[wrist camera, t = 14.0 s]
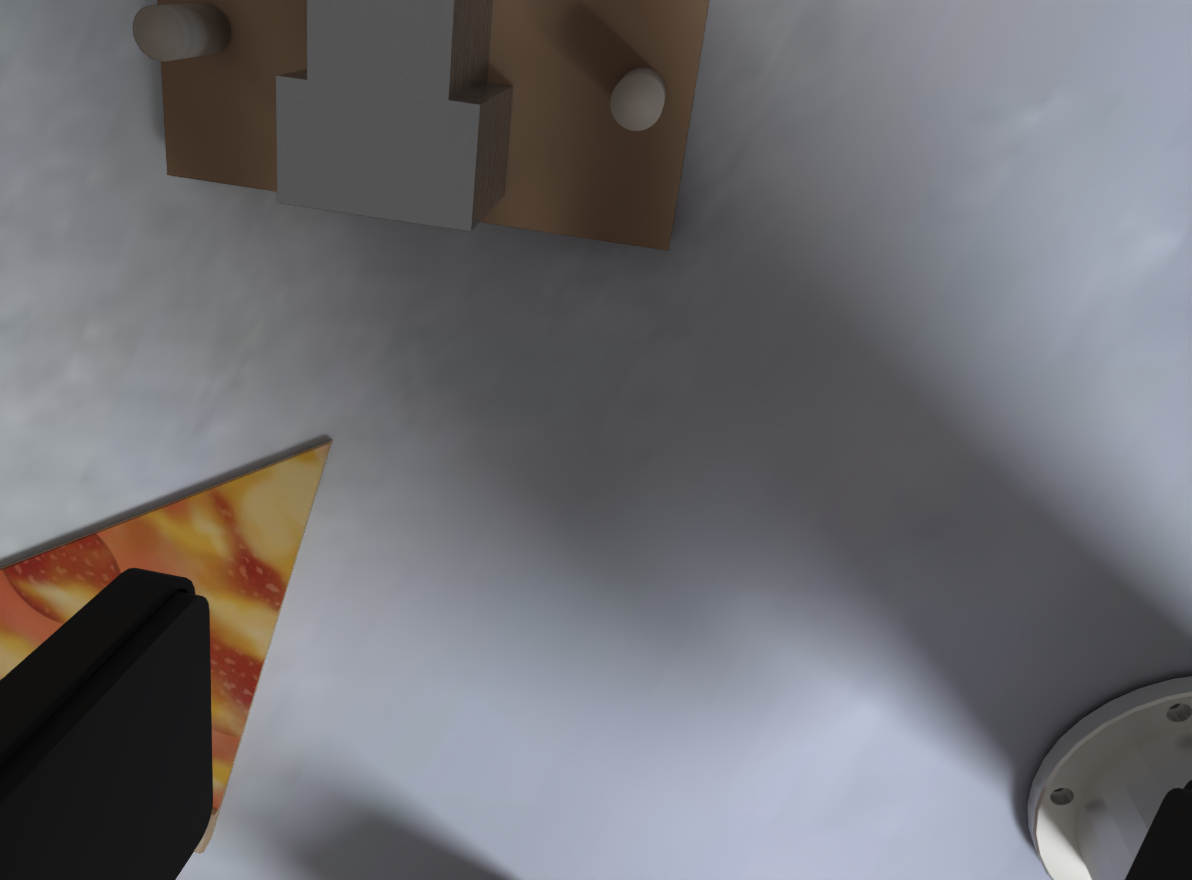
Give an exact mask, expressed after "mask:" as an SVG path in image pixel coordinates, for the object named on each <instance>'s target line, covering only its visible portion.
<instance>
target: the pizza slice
mask: <svg viewBox="0 0 1192 880" xmlns="http://www.w3.org/2000/svg"><path fill="white" fill-rule="evenodd" d="M331 443H332V440H330V441H328V442H325V443H323V444H320V445H317V446H315V447H312V448H310V449H307V450H304V451H302V452H299V453H297V454H294V455H292V456H289V457H286V458H284V459H281V460H279V461H276V462H273V463H271V464H268V465H266V466H263V467H260V468H258V469H255V470H253V471H250V472H247V473H245V474H242V475H240V476H237V477H234V478H232V479H229V480H227V481H224V482H221V483H219V484H216V485H214V486H211V487H208V488H206V489H203V490H201V491H198V492H196V493H193V494H190V495H188V496H185V497H183V498H180V499H177V500H175V501H172V502H170V503H167V504H164V505H162V506H159V507H157V508H154V509H151V510H149V511H146V512H144V513H141V514H138V515H136V516H133V517H131V518H128V519H125V520H123V521H120V522H118V523H115V524H112V525H110V526H107V527H105V528H102V529H100V530H97V531H94V532H92V533H89V534H87V535H84V536H81V537H79V538H76V539H74V540H71V541H68V542H66V543H63V544H61V545H58V546H55V547H53V548H50V549H48V550H45V551H42V552H40V553H37V554H35V555H32V556H29V557H27V558H24V559H22V560H19V561H16V562H14V563H11V564H9V565H6V566H4V567H1V568H0V680H1V679H2V678H3V677H5V676H6V675H7V674H8V673H9V672H10V671H11V670H13V669H14V668H15V667H16V666H17V665H18V664H19V663H20V662H22V661H23V660H24V659H25V658H26V657H27V656H28V655H29V654H31V653H32V652H33V651H34V650H35V649H36V648H37V647H38V646H40V645H41V644H42V643H43V642H44V641H45V640H46V639H47V638H49V637H50V636H51V635H52V634H53V633H54V632H55V631H56V630H58V629H59V628H60V627H61V626H62V625H63V624H64V623H65V622H67V621H68V620H69V619H70V618H71V617H72V616H73V615H74V614H76V613H77V612H78V611H79V610H80V609H81V608H82V607H83V606H85V605H86V604H87V603H88V602H89V601H90V600H91V599H92V598H94V597H95V596H96V595H97V594H98V593H99V592H100V591H102V590H103V589H104V588H105V587H106V586H107V585H108V584H109V583H111V582H112V581H113V580H114V579H115V578H116V577H117V576H118V575H120V574H121V573H122V572H124V571H125V570H127V569H128V568H139V569H145V570H150V571H155V572H160V573H165V574H170V575H175V576H180V577H185V578H188V579H189V580H191V581H192V583H193V585H194V587H195V594H196V595H200V596H203V597H205V598H206V599H207V601H208V603H209V610H210V658H211V712H212V765H213V808H212V813H211V817H210V821H209V824H208V827H207V829H206V831H205V834H204V836H203V838H202V839H201V841H200V843H199V844H198V846H197V847H196V849H195V850H194V852H196V853H199V854H200V853H202V852H203V851H204V850H205V848H206V847H207V845H208V843H209V841H210V840H211V838H212V834H213V831H214V828H215V825H216V821H217V818H218V815H219V811H220V808H221V805H222V802H223V798H224V795H225V792H226V788H227V785H228V782H229V779H230V775H231V772H232V769H233V765H234V762H235V759H236V756H237V752H238V749H239V746H240V742H241V739H242V736H243V733H244V729H245V726H246V723H247V719H248V716H249V713H250V710H251V706H252V703H253V700H254V696H255V693H256V690H257V687H258V683H259V680H260V677H261V673H262V670H263V667H264V664H265V660H266V657H267V654H268V650H269V647H270V644H271V641H272V637H273V634H274V631H275V627H276V624H277V621H278V618H279V614H280V611H281V608H282V604H283V601H284V598H285V595H286V591H287V588H288V585H289V581H290V578H291V575H292V572H293V568H294V565H295V562H296V558H297V555H298V552H299V549H300V545H301V542H302V539H303V535H304V532H305V529H306V526H307V522H308V519H309V516H310V512H311V509H312V506H313V503H314V499H315V496H316V493H317V489H318V486H319V483H320V480H321V476H322V473H323V470H324V466H325V463H326V460H327V457H328V453H329V450H330V447H331Z"/></svg>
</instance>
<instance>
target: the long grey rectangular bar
mask: <svg viewBox="0 0 1192 880" xmlns="http://www.w3.org/2000/svg"><path fill="white" fill-rule="evenodd" d="M492 10H493V0H307V69H304V70H299V71H295V72H290V73H286V74H281V75H276V117H277V194H278V203H281V204H288V205H295V206H302V207H308V208H315V209H322V210H329V211H336V212H342V213H349V214H356V215H363V216H370V217H376V218H383V219H390V220H397V221H403V222H410V223H417V224H424V225H431V226H437V227H444V228H451V229H458V230H465V231H472V230H473V229H474V228H475V227H476V226H477V224H478V223H479V222H480V221H481V220H482V219H483V218H484V217H485V216H486V215H487V214H488V212H489V211H490V210H491V209H492V208H493V207H494V206H495V205H496V204H497V203H498V202H499V201H500V199H501V198H502V197H503V196H504V195H505V186H506V174H507V162H508V150H509V138H510V126H511V115H512V103H513V91H514V86H510V85H503V84H496V83H489V82H487V78H488V64H489V51H490V37H491V23H492Z"/></svg>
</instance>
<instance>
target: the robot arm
mask: <svg viewBox="0 0 1192 880" xmlns="http://www.w3.org/2000/svg"><path fill="white" fill-rule="evenodd" d="M212 808H213V765H212V712H211V658H210V610H209V603H208V601H207V599H206V598H205V597H203V596H200V595H196V594H195V587H194V585H193V583H192V581H191V580H189V579H188V578H185V577H180V576H175V575H170V574H165V573H160V572H155V571H150V570H145V569H139V568H128V569H127V570H125V571H124V572H122V573H121V574H120V575H118V576H117V577H116V578H115V579H114V580H113V581H112V582H111V583H109V584H108V585H107V586H106V587H105V588H104V589H103V590H102V591H100V592H99V593H98V594H97V595H96V596H95V597H94V598H92V599H91V600H90V601H89V602H88V603H87V604H86V605H85V606H83V607H82V608H81V609H80V610H79V611H78V612H77V613H76V614H74V615H73V616H72V617H71V618H70V619H69V620H68V621H67V622H65V623H64V624H63V625H62V626H61V627H60V628H59V629H58V630H56V631H55V632H54V633H53V634H52V635H51V636H50V637H49V638H47V639H46V640H45V641H44V642H43V643H42V644H41V645H40V646H38V647H37V648H36V649H35V650H34V651H33V652H32V653H31V654H29V655H28V656H27V657H26V658H25V659H24V660H23V661H22V662H20V663H19V664H18V665H17V666H16V667H15V668H14V669H13V670H11V671H10V672H9V673H8V674H7V675H6V676H5V677H3V678H2V679H1V680H0V880H175V879H176V878H177V876H178V875H179V873H180V872H181V870H182V869H183V867H184V866H185V864H186V863H187V861H188V860H189V858H190V857H191V855H192V854H193V852H194V850H195V849H196V847H197V846H198V844H199V843H200V841H201V839H202V838H203V836H204V834H205V831H206V829H207V827H208V824H209V821H210V817H211V813H212ZM1027 811H1028V828H1029V831H1030V834H1031V837H1032V840H1033V844H1034V847H1035V849H1036V852H1037V854H1038V857H1039V859H1040V861H1041V863H1042V865H1043V867H1044V869H1045V871H1046V873H1047V875H1048V876H1049V877H1050V878H1051V879H1052V880H1192V676H1190V677H1183V678H1175V679H1171V680H1167V681H1164V682H1160V683H1156V684H1153V685H1149V686H1146V687H1142V688H1139V689H1137V690H1135V691H1132V692H1130V693H1128V694H1125V695H1123V696H1121V697H1119V698H1116V699H1114V700H1112V701H1109V702H1108V703H1106V704H1105V705H1103V706H1101V707H1100V708H1098V709H1097V710H1095V711H1093V712H1092V713H1090V714H1089V715H1087V716H1086V717H1084V718H1082V719H1081V720H1080V721H1079V722H1078V723H1077V724H1076V725H1074V726H1073V727H1072V728H1071V729H1070V730H1069V731H1068V732H1066V733H1065V734H1064V735H1063V736H1062V737H1061V738H1060V739H1059V740H1058V741H1057V743H1056V744H1055V745H1054V747H1053V748H1052V749H1051V750H1050V752H1049V753H1048V754H1047V756H1046V757H1045V758H1044V759H1043V761H1042V763H1041V765H1040V767H1039V769H1038V771H1037V774H1036V776H1035V778H1034V780H1033V782H1032V786H1031V790H1030V795H1029V799H1028V804H1027Z"/></svg>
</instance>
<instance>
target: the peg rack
mask: <svg viewBox="0 0 1192 880" xmlns="http://www.w3.org/2000/svg"><path fill="white" fill-rule="evenodd" d="M708 6H709V0H493V10H492V23H491V37H490V51H489V64H488V78H487V82H489V83H496V84H503V85H510V86H514V91H513V103H512V115H511V126H510V138H509V150H508V162H507V174H506V186H505V195H504V196H503V197H502V198H501V199H500V201H499V202H498V203H497V204H496V205H495V206H494V207H493V208H492V209H491V210H490V211H489V212H488V214H487V215H486V216H485V217H484V218H483V219H482V220H481V221H480V222H482V223H489V224H496V225H502V226H509V227H515V228H522V229H529V230H535V231H542V232H549V233H555V234H562V235H569V236H575V237H582V238H588V239H595V240H602V241H608V242H615V243H622V244H628V245H635V246H642V247H648V248H655V249H661V250H668V251H669V246H670V240H671V234H672V228H673V222H674V216H675V209H676V203H677V197H678V191H679V185H680V179H681V172H682V166H683V160H684V154H685V148H686V142H687V135H688V129H689V123H690V117H691V111H692V105H693V98H694V92H695V86H696V80H697V74H698V68H699V61H700V55H701V49H702V43H703V37H704V31H705V24H706V18H707V12H708ZM133 34H134V38H135V41H136V43H137V45H138V46H139V48H140V49H141V51H142V52H143V53H144V54H146V55H147V56H148V57H150V58H152V59H154V60H156V61H161V69H162V87H163V105H164V123H165V141H166V159H167V175H170V176H177V177H184V178H190V179H197V180H204V181H210V182H217V183H223V184H230V185H237V186H243V187H250V188H257V189H263V190H270V191H277V117H276V75H281V74H286V73H290V72H295V71H299V70H304V69H307V0H158V5H150V6H146V7H144V8H142V9H141V10H140V11H139V12H138V13H137V14H136V16H135V18H134V22H133Z"/></svg>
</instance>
